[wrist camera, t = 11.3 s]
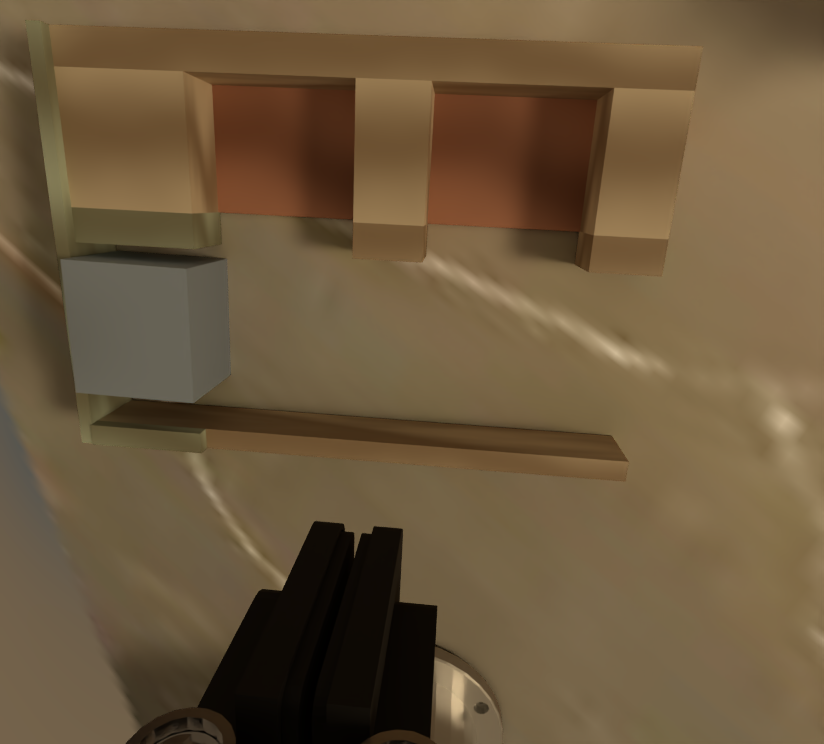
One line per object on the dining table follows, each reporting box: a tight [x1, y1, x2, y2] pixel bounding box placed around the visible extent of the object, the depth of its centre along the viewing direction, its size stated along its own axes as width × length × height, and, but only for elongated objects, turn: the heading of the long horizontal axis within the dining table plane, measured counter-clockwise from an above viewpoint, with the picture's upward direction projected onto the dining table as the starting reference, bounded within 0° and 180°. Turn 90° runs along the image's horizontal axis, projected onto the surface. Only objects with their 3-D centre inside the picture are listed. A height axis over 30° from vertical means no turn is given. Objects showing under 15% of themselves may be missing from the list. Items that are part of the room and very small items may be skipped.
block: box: [60, 251, 231, 403], centre depth 27 cm, size 6×6×4 cm
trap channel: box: [25, 20, 703, 481], centre depth 26 cm, size 18×26×4 cm
